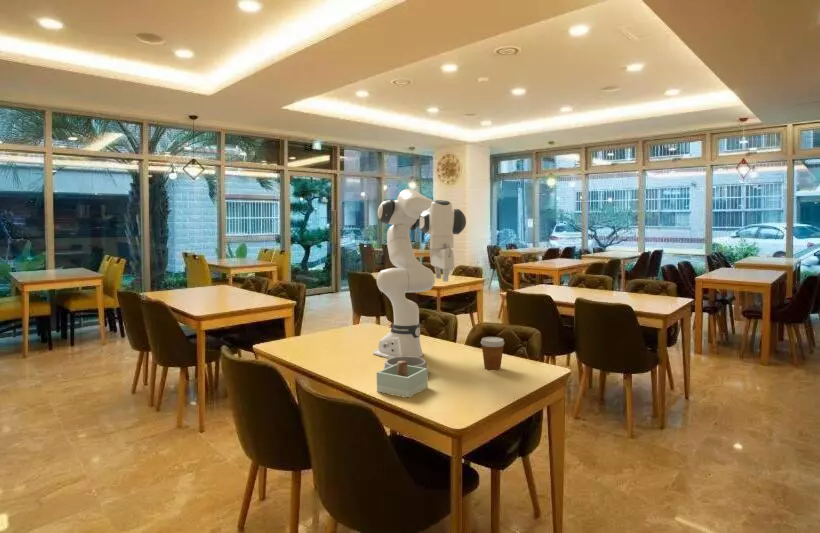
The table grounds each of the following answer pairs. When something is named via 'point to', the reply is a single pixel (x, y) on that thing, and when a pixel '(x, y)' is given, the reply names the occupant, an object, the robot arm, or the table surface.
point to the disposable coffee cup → (492, 352)
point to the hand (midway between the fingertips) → (441, 279)
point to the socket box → (402, 381)
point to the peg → (402, 368)
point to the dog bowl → (410, 361)
